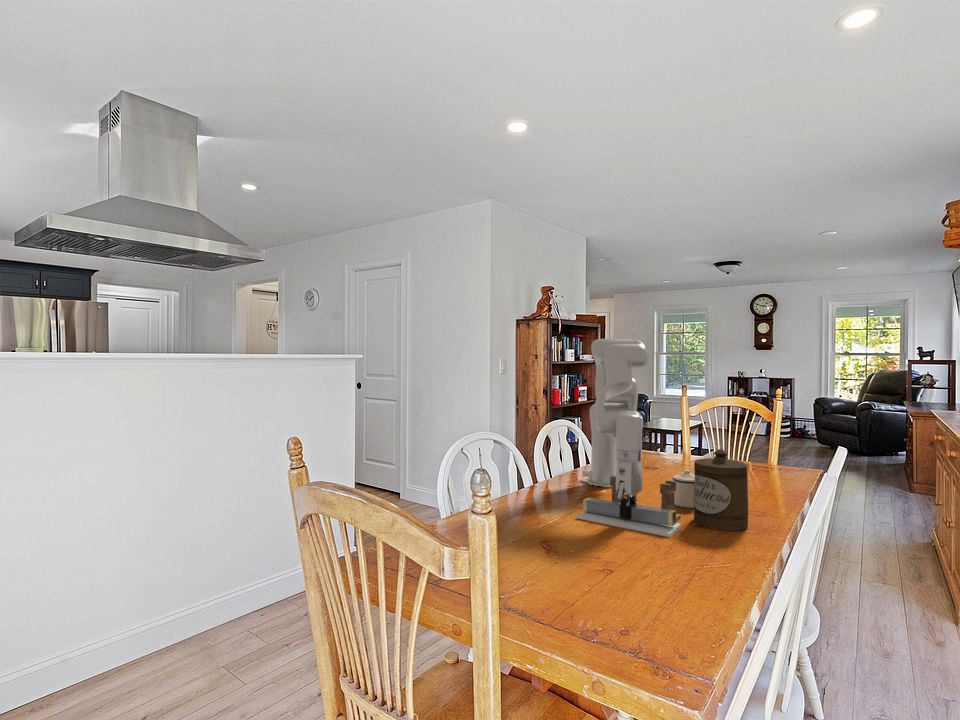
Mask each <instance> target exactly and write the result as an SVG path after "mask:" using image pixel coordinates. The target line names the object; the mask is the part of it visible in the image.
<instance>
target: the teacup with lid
mask: <svg viewBox="0 0 960 720" xmlns="http://www.w3.org/2000/svg"><path fill="white" fill-rule="evenodd" d="M694 480H695V473H692V472H691V470H690V469H684V470H683V472H681V473H679V474H675V475H673V477H672V481H676V491H675V494H674V506H677V507H679V506H680V508H684V507H685V509H694ZM672 492H674V491H672Z"/></svg>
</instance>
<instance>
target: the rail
mask: <svg viewBox="0 0 960 720" xmlns="http://www.w3.org/2000/svg"><path fill="white" fill-rule="evenodd" d="M629 506H631V520H637V521H643V522H649V523H655V524H661V525H667V526H673V525H675V524H676V523H677V521H676V514H677V510H675V509H674V510H669V509H662V508H661V507H655V506H650V505H649V506H648V505H641V504H636V505H635V504H630V505H629ZM582 507H583V508H582V510H583V511H582V512H589V513H595V514H601V515H607V516H613V517H619V518H620V505H619V502H615V501H612V500H606V499H601V498H594V497H587V498H584V499H583V501H582Z"/></svg>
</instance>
